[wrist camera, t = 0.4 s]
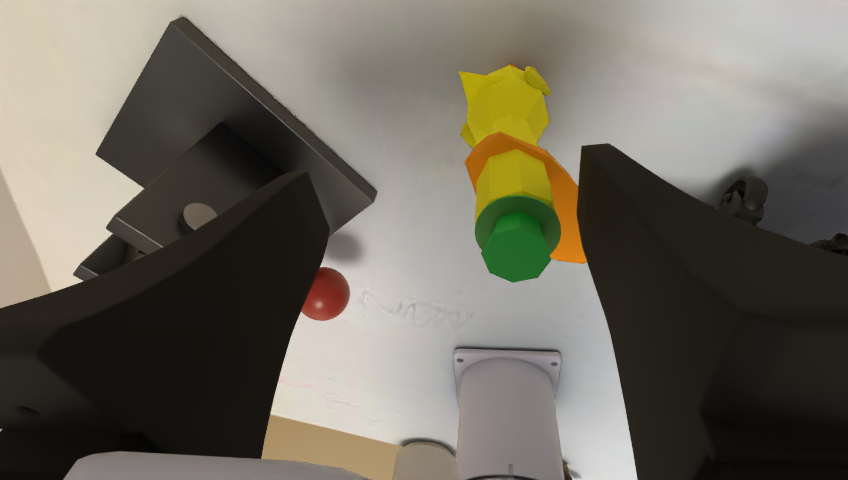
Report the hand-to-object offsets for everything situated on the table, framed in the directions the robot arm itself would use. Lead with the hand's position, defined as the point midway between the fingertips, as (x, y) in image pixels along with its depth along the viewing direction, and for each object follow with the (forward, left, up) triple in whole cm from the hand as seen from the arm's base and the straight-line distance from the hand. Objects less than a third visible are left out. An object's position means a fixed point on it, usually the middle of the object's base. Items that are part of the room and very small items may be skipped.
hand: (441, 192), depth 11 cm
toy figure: (-1, -2, -10) cm, 10 cm away
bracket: (-5, +13, -10) cm, 17 cm away
